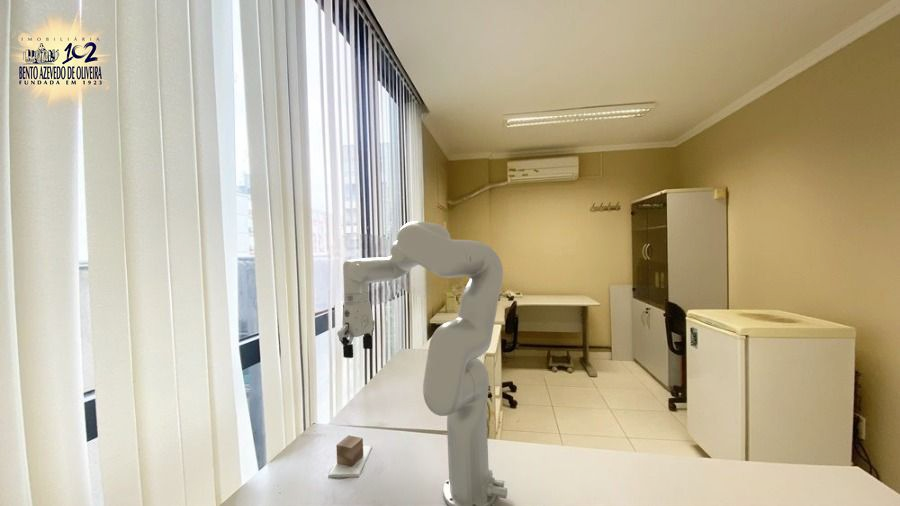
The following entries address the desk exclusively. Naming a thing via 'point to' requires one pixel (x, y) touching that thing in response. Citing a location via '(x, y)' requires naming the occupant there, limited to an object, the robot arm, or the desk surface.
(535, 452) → the desk surface
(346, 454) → the walnut block
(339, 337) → the robot arm
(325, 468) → the desk surface
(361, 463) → the external hard drive
